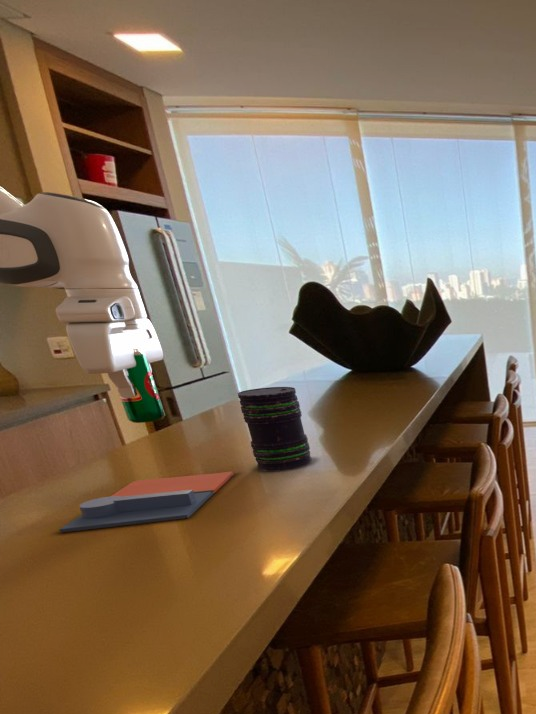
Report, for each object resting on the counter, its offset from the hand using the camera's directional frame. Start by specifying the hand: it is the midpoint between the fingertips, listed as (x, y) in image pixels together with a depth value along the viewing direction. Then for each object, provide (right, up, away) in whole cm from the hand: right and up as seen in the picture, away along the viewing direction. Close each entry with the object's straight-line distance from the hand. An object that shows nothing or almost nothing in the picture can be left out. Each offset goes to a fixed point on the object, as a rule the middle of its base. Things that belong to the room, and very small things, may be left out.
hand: (138, 394), depth 96 cm
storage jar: (+13, -11, +19) cm, 26 cm away
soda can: (0, -4, +2) cm, 5 cm away
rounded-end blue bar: (+5, -20, -5) cm, 21 cm away
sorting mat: (+3, -18, 0) cm, 18 cm away
